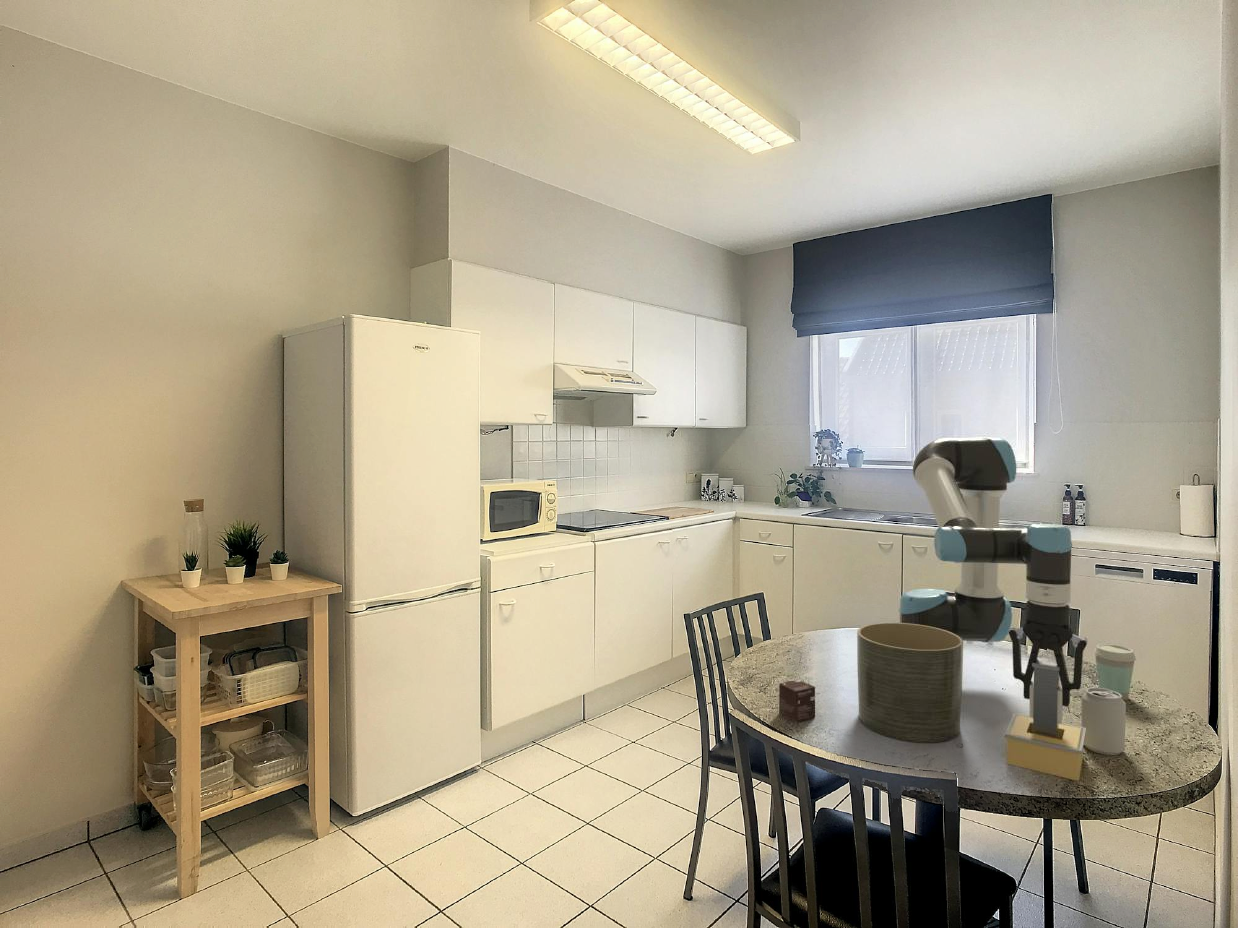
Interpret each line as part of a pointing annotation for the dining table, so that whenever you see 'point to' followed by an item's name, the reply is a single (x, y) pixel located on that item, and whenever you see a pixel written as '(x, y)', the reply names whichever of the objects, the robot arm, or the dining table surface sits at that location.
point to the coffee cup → (1115, 668)
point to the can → (1103, 721)
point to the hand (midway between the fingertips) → (1046, 717)
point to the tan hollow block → (1045, 748)
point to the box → (797, 700)
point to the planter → (910, 681)
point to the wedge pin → (1045, 696)
